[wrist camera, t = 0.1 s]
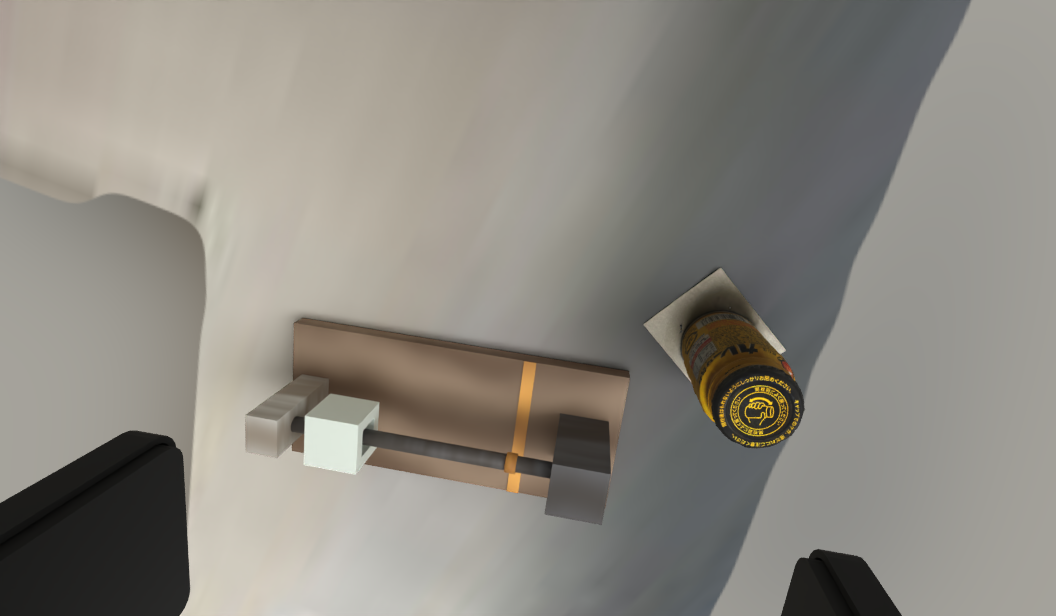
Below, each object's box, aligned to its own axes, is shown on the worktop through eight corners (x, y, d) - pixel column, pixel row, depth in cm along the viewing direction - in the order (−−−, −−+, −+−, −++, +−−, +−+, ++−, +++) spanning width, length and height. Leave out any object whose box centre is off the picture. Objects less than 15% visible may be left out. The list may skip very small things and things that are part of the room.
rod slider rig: (303, 318, 48) (234, 354, 39) (628, 371, 46) (636, 423, 37) (300, 442, 51) (236, 503, 42) (604, 498, 49) (606, 575, 40)
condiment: (707, 401, 46) (744, 483, 34) (643, 323, 45) (658, 380, 33) (785, 349, 44) (851, 416, 32) (719, 266, 43) (764, 305, 31)
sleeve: (330, 393, 44) (304, 415, 40) (379, 402, 44) (358, 425, 40) (328, 438, 45) (303, 464, 41) (376, 447, 45) (355, 474, 41)
